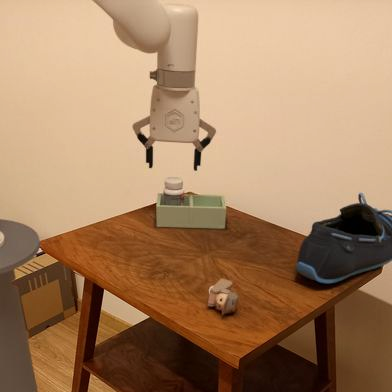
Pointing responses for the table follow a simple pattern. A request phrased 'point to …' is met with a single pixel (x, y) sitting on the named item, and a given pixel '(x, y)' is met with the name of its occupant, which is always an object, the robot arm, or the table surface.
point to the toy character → (223, 296)
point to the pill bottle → (173, 192)
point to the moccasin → (347, 244)
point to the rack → (192, 212)
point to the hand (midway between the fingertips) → (173, 167)
